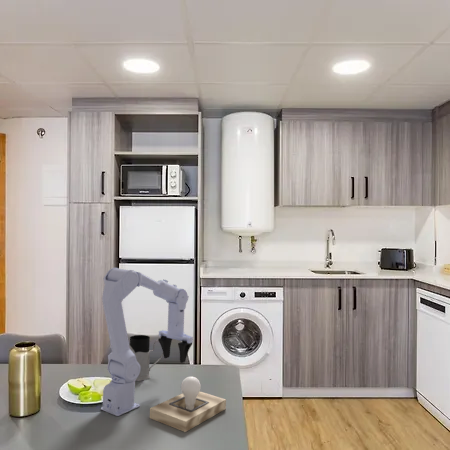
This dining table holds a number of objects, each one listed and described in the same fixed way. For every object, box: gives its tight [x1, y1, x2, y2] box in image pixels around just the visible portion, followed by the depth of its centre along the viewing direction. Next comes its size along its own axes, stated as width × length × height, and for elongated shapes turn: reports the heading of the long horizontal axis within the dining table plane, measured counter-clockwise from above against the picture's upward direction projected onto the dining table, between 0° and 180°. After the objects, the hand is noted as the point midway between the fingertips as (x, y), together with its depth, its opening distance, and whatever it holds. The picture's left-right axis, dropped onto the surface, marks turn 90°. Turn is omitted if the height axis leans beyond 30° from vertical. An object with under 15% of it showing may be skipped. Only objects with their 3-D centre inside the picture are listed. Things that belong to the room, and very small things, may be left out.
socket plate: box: [149, 390, 227, 433], centre depth 133 cm, size 20×14×3 cm
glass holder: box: [129, 334, 164, 382], centre depth 165 cm, size 9×14×15 cm, turn 108°
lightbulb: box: [180, 376, 202, 410], centre depth 134 cm, size 6×6×11 cm
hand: (174, 359), depth 153 cm, fingers open, 7 cm apart
